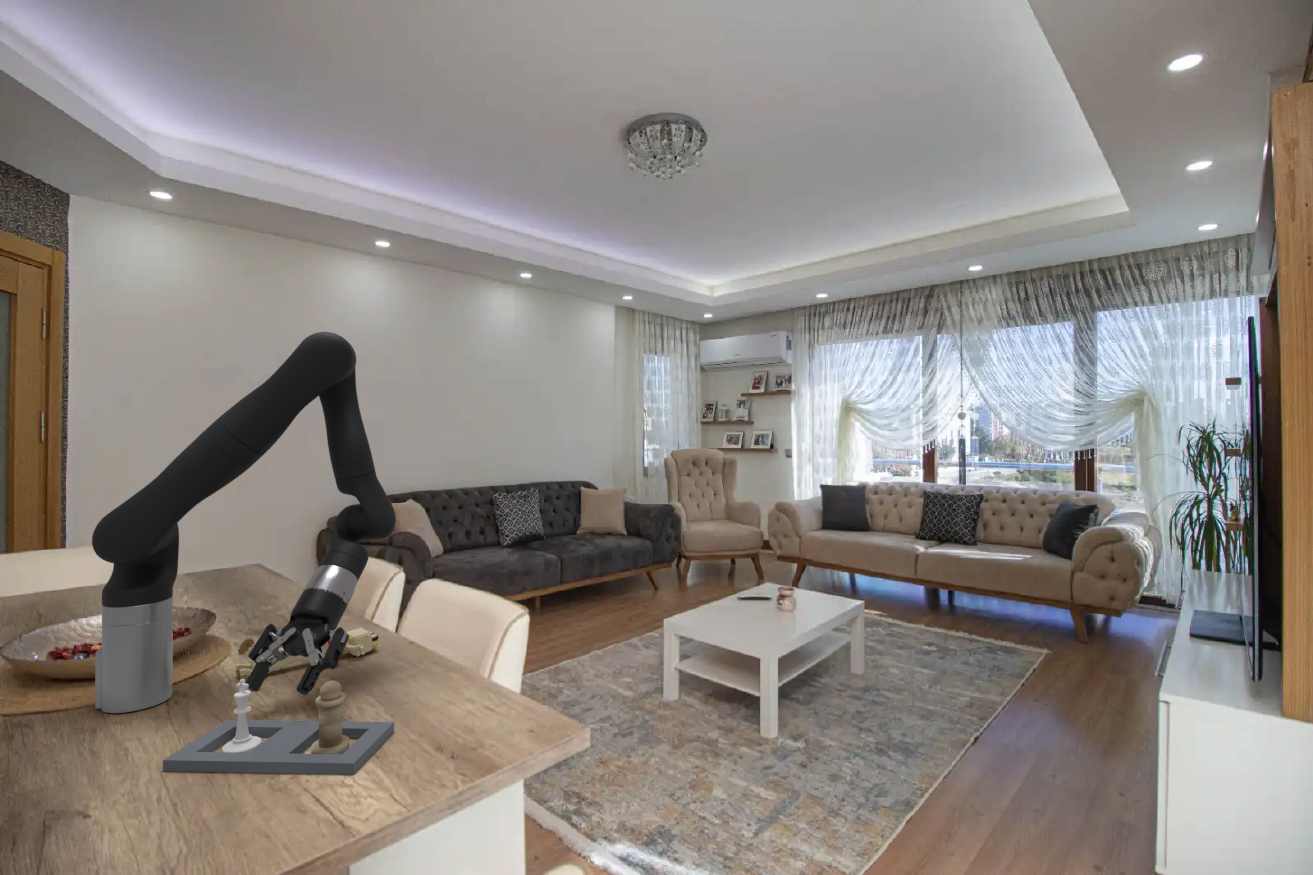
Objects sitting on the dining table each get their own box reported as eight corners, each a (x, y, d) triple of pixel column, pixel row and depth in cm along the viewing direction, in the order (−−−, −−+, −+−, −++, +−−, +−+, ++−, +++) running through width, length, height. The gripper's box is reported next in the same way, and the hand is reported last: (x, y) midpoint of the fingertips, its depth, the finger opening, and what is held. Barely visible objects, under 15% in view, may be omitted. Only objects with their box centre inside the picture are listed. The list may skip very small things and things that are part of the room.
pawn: (304, 759, 86) (304, 687, 86) (323, 742, 91) (323, 674, 91) (338, 760, 86) (338, 688, 86) (355, 743, 91) (355, 675, 91)
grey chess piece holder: (162, 771, 83) (162, 760, 83) (227, 729, 95) (227, 719, 95) (353, 774, 82) (353, 763, 82) (394, 731, 94) (394, 722, 94)
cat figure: (246, 696, 110) (388, 651, 128) (241, 648, 110) (384, 610, 127) (234, 680, 118) (370, 640, 135) (230, 636, 117) (367, 601, 134)
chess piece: (242, 759, 86) (242, 687, 86) (212, 756, 87) (212, 685, 87) (270, 742, 91) (270, 674, 91) (242, 739, 92) (242, 672, 92)
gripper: (277, 585, 105) (220, 678, 94) (354, 587, 103) (306, 683, 92) (299, 607, 110) (248, 698, 99) (373, 610, 108) (329, 704, 97)
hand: (276, 691), depth 95 cm, fingers open, 8 cm apart
